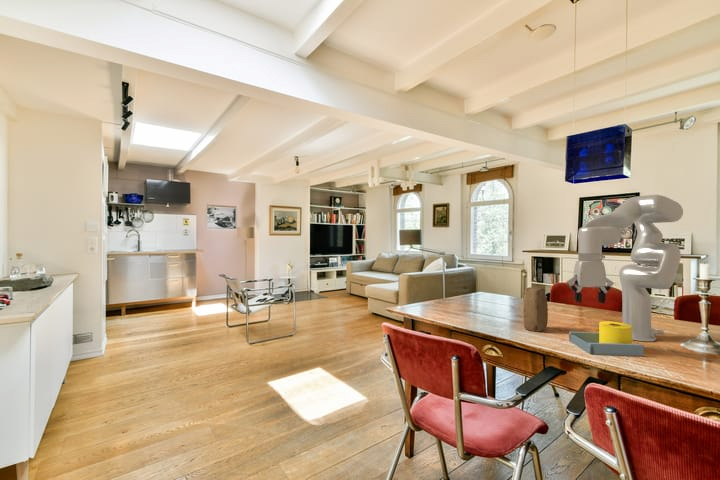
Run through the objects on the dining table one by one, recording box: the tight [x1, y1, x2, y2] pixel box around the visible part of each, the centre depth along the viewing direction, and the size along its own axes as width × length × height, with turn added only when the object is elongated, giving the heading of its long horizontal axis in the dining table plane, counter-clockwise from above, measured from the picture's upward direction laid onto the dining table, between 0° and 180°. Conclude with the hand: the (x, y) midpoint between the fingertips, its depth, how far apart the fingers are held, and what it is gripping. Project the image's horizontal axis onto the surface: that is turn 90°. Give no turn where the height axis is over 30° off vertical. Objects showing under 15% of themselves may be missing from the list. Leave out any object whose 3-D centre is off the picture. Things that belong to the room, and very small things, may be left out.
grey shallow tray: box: [568, 331, 645, 357], centre depth 126 cm, size 18×15×4 cm
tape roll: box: [598, 320, 633, 344], centre depth 126 cm, size 10×10×9 cm
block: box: [522, 286, 549, 333], centre depth 152 cm, size 11×8×20 cm
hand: (589, 302), depth 127 cm, fingers open, 7 cm apart
